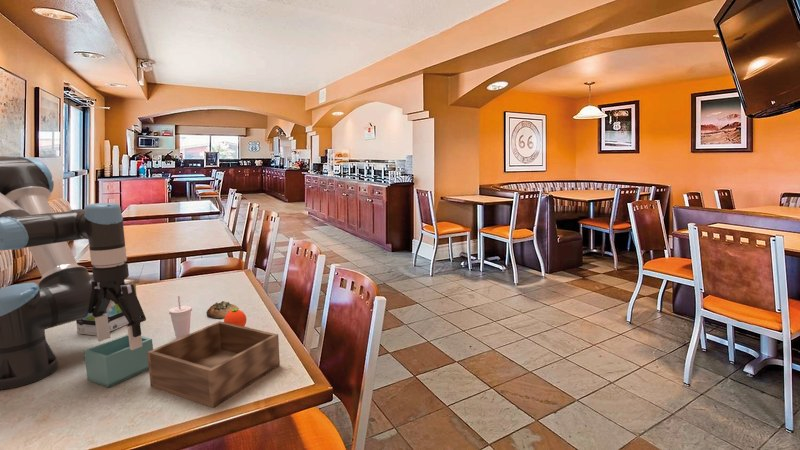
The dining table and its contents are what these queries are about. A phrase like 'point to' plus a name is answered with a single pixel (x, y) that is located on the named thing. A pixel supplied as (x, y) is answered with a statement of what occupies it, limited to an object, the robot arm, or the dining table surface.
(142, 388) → the dining table surface
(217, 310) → the bread roll
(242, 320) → the clementine
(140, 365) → the teal crate
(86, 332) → the tea box
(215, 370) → the walnut crate
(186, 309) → the smoothie
